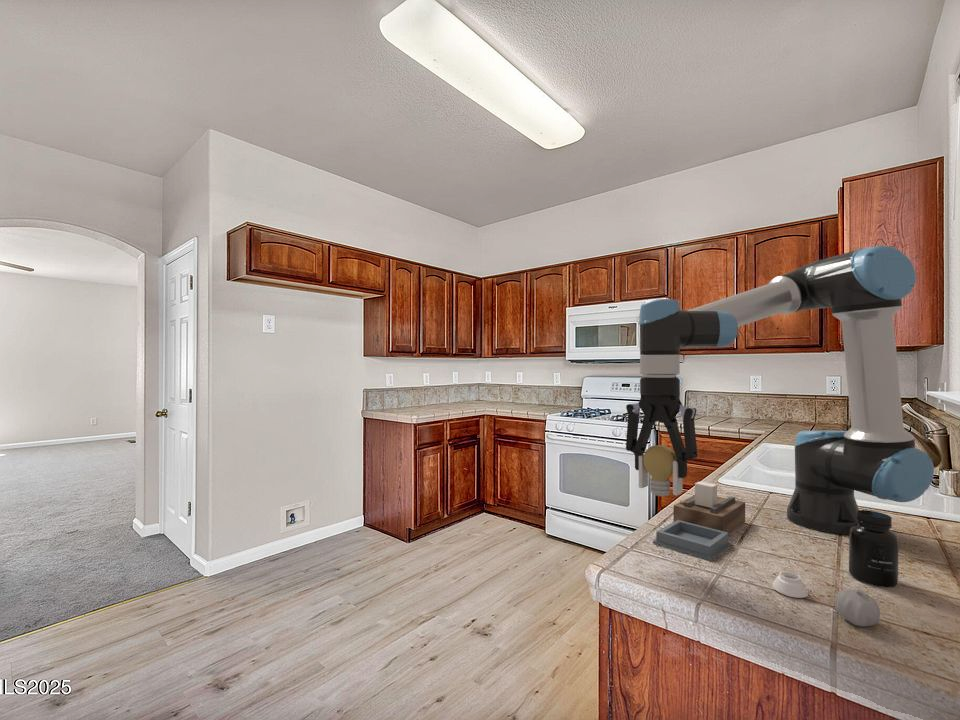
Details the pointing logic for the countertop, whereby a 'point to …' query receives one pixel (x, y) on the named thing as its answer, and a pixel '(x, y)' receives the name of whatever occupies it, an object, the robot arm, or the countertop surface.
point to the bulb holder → (693, 539)
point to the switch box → (712, 513)
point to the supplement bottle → (873, 549)
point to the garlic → (857, 607)
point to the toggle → (705, 494)
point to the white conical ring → (790, 585)
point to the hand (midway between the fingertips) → (660, 489)
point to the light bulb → (659, 468)
